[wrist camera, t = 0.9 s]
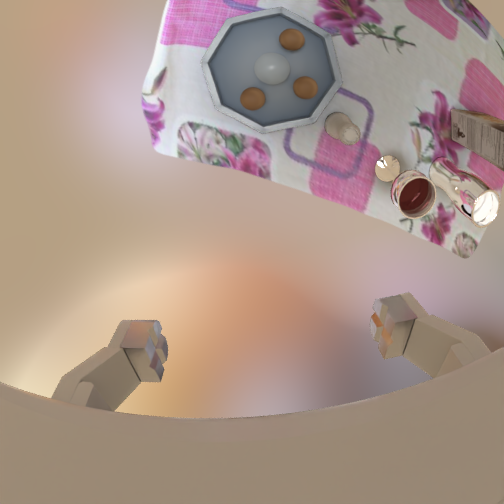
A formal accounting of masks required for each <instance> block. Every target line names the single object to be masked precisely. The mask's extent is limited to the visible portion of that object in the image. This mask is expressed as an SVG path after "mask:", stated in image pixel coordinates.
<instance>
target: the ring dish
mask: <svg viewBox="0 0 504 504" xmlns="http://www.w3.org/2000/svg"><path fill="white" fill-rule="evenodd" d="M290 28H292V29H297V30H299V31H300V32H301V33H302V34H303V35H304V38H305V43H304V45H303V46H302V47H301V48H300V49H298V50H295V51H291V50H287V49H285V48H283V47H282V46H281V44H280V42H279V36H280V34H281V33H282V32H283V31H284V30H286V29H290ZM200 64H201V67H202V70H203V73H204V76H205V79H206V82H207V85H208V88H209V91H210V94H211V97H212V100H213V103H214V106H215V109H216V110H218V111H220V112H222V113H224V114H226V115H228V116H230V117H232V118H234V119H235V120H237V121H239V122H241V123H243V124H245V125H247V126H249V127H251V128H252V129H254V130H256V131H258V132H260V133H263V134H265V133H269V132H273V131H278V130H283V129H288V128H292V127H297V126H303V125H308V124H314V123H315V122H316V120H317V119H318V117H319V116H320V114H321V113H322V112H323V110H324V109H325V107H326V106H327V104H328V103H329V102H330V100H331V99H332V97H333V96H334V95H335V93H336V92H337V90H338V89H339V87H340V86H341V85H342V83H343V81H342V77H341V73H340V68H339V64H338V60H337V57H336V53H335V49H334V45H333V42H332V38H331V35H330V34H329V33H328V32H326V31H325V30H323V29H321V28H320V27H318V26H316V25H315V24H313V23H311V22H309V21H308V20H306V19H304V18H302V17H300V16H299V15H297V14H295V13H293V12H291V11H289V10H287V9H285V8H283V7H277V8H272V9H266V10H262V11H257V12H252V13H248V14H244V15H240V16H236V17H232V18H229V19H227V20H226V21H225V23H224V24H223V26H222V27H221V29H220V30H219V32H218V33H217V35H216V36H215V38H214V40H213V41H212V43H211V45H210V46H209V48H208V50H207V51H206V53H205V55H204V56H203V58H202V60H201V62H200ZM302 76H307V77H310V78H312V79H314V80H315V81H316V83H317V85H318V92H317V94H316V95H315V96H314V97H313V98H311V99H301V98H299V97H298V96H297V95H296V94H295V93H294V91H293V84H294V82H295V80H296V79H297V78H299V77H302ZM250 87H255V88H258V89H260V90H261V91H262V92H263V93H264V95H265V103H264V105H263V106H262V107H261V108H260V109H258V110H253V111H252V110H248V109H246V108H244V107H243V106H242V104H241V102H240V96H241V94H242V92H243V91H244V90H245V89H247V88H250Z"/></svg>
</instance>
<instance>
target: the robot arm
mask: <svg viewBox="0 0 504 504" xmlns="http://www.w3.org/2000/svg"><path fill="white" fill-rule="evenodd" d="M373 309H374V311H375V313H374V314H373V315H372V316H371V319H370V331H371V335H372V337H373V339H374V340H375V341H377V342H379V346H378V349H379V351H380V352H381V354H382V356H383V358H384V359H388V358H393V357H397V356H401V355H403V357H405V358H406V359H408V360H409V361H410V362H412V363H414V364H415V365H416V366H417V367H419V368H420V369H422V370H423V371H424V372H426V373H427V374H429V375H430V376H431V377H433V379H431V380H428V381H425V382H422V383H420V384H416V385H414V386H410V387H408V388H404V389H401V390H398V391H395V392H391V393H387V394H384V395H380V396H377V397H373V398H369V399H365V400H361V401H356V402H352V403H348V404H343V405H338V406H333V407H327V408H322V409H316V410H309V411H303V412H295V413H288V414H279V415H269V416H257V417H242V418H241V417H240V418H174V417H157V416H147V415H137V414H128V413H120V412H114V411H115V410H116V409H117V408H118V407H119V405H120V404H121V403H122V402H123V401H124V400H125V399H126V398H127V397H128V396H129V395H130V394H131V393H132V392H133V391H134V390H135V389H136V387H137V386H138V385H139V384H140V383H141V382H161V379H162V376H163V372H164V367H163V365H162V364H163V363H164V362H165V361H167V356H168V345H167V341H166V338H165V337H164V336H163V335H162V334H161V330H162V327H161V325H160V322H159V321H157V320H123V321H121V322H120V324H119V325H118V327H117V329H116V331H115V333H114V335H113V337H112V339H111V341H110V343H109V345H108V347H104V348H102V349H101V350H100V351H98V352H97V353H95V354H94V355H93V356H91V357H90V358H88V359H87V360H85V361H84V362H82V363H81V364H80V365H78V366H77V367H75V368H74V369H73V370H71V371H70V372H68V373H67V374H65V375H64V376H63V377H62V378H61V380H60V382H59V384H58V386H57V388H56V390H55V392H54V394H53V396H52V398H47V397H44V396H40V395H37V394H33V393H30V392H27V391H24V390H21V389H18V388H15V387H12V386H9V385H7V384H4V383H2V382H0V504H504V347H502V348H500V349H499V350H496V351H495V352H493V353H491V352H490V350H489V349H488V348H487V346H486V345H485V344H484V343H483V341H482V340H481V339H480V338H479V337H478V335H476V334H474V333H472V332H470V331H467V330H465V329H463V328H461V327H458V326H456V325H454V324H451V323H449V322H447V321H445V320H443V319H440V318H438V317H436V316H434V315H428V313H427V312H426V311H425V310H424V309H423V307H422V306H421V305H420V304H419V303H418V301H417V300H416V299H415V298H414V297H413V295H412V294H410V293H404V294H399V295H396V296H390V297H385V298H379V299H375V301H374V304H373Z"/></svg>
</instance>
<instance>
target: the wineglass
mask: <svg viewBox="0 0 504 504" xmlns="http://www.w3.org/2000/svg"><path fill="white" fill-rule="evenodd" d="M399 170H400V165H399V162H398V160H397V159H396V158H395V157H393V156H389V155H388V156H384V157H382V158H380V159H379V160H378V162H377V163H376V166H375V173H376V175H377V177H378V178H379V179H380V180H382V181H386V182H388V181H392V180H393V182H392V185H391V199H392V201H393V204H394V205H395V206H396V207H397V208H398V209H399V210H400V212H401V213H402V214H403V215H404V216H405V217H407V218H411V219H417V218H421V217H423V216H424V215H426V214H427V213H428V212H429V211H430V210H431V209H432V207H433V206H434V203H435V200H436V189H435V185H434V184H433V183H432V181H431V180H429V179H428V178H427V177H426V176H425V175H424V174H423V173H421V172H419V171H417V170H404V171H402V172H400V173H399Z"/></svg>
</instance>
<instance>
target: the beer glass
mask: <svg viewBox="0 0 504 504" xmlns="http://www.w3.org/2000/svg"><path fill="white" fill-rule="evenodd" d="M429 174H430V179H431V181H432V183H433V184H434V185H436V186H438V187H440V188H442V189H443V190H444V191H445V192H446V193H447V195H448V196H449V198H450V199H451V201H452V202H453V204H454V205H455V206H456V208H457V209H458V210H459V211H460V212H461V213H462V214H463V215H464V216H465V217H466V218H467V219H469V220H470V221H471V222H472V223H473V224H474V225H475V226H477V227H479V228H483V227H486V226H488V225H489V224H491V223H492V222H493V220H494V219H495V218H496V216H497V213H498V211H499V207H500V198H499V195H498V193H497V192H496V191H494V190H493V189H492V188H491V187H490V186H489V185H488V184H487V183H486V182H485V181H483V180H482V179H481V178H479V177H478V176H476V175H474V174H472V173H470V172H468V171H465V170H463V169H460V168H458V167H456V166H455V165H454V164H453V163H452V162H451V161H450V160H449V159H448V158H446V157H440V158H438V159H436V160H435V161H434V162H433V163H432V165H431V167H430V173H429Z"/></svg>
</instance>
